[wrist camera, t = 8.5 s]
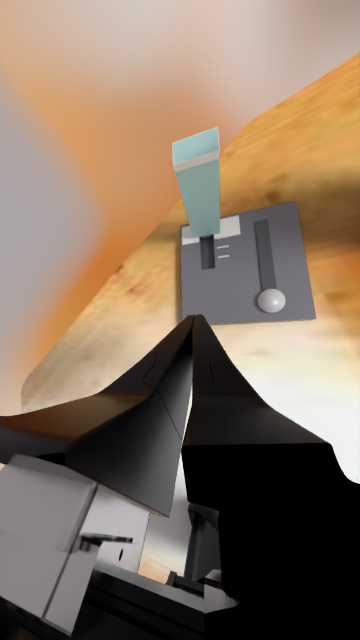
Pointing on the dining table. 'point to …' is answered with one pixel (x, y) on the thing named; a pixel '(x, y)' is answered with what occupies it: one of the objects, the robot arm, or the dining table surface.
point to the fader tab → (199, 180)
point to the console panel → (248, 269)
